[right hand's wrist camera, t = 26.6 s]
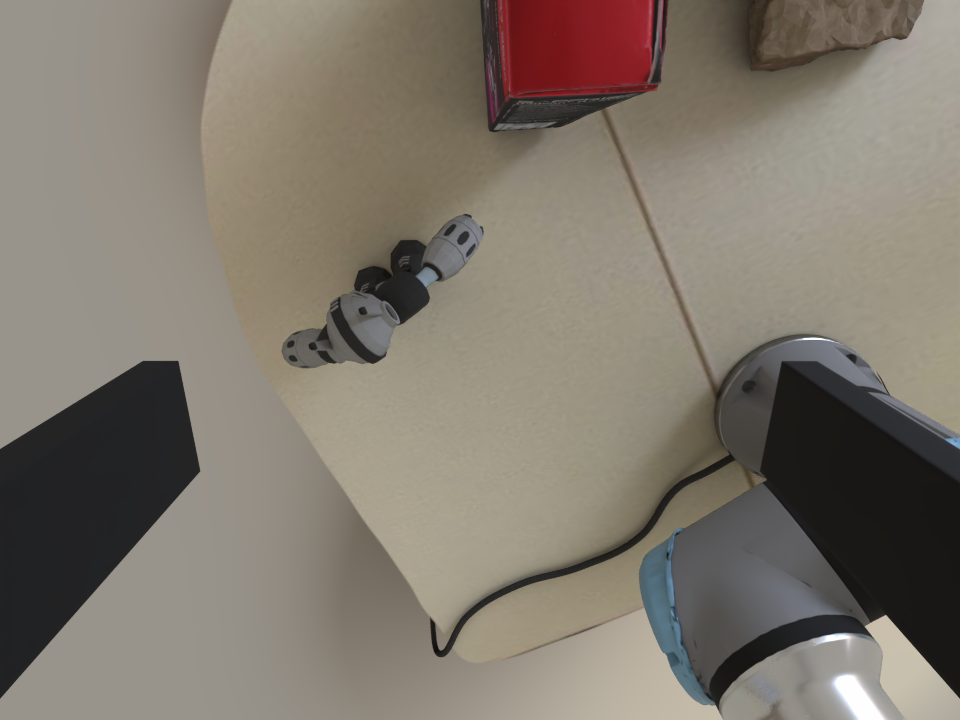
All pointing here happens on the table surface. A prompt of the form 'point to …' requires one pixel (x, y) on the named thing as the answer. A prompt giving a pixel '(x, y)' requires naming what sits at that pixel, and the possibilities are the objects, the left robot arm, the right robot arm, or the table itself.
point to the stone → (823, 28)
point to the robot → (384, 299)
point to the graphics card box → (568, 57)
